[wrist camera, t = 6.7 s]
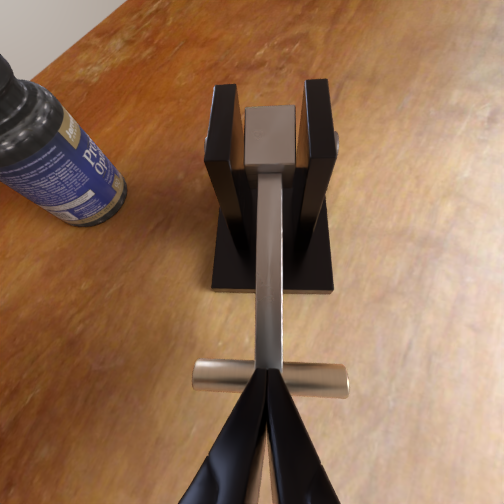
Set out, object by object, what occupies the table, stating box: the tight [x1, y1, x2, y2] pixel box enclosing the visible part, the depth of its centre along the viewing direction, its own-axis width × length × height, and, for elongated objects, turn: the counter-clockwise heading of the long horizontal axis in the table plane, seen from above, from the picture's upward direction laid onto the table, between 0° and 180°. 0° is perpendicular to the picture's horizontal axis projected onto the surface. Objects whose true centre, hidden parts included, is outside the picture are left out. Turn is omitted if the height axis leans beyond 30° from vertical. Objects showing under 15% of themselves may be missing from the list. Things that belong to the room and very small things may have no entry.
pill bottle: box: [0, 54, 127, 227], centre depth 17 cm, size 6×6×11 cm
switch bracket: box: [204, 79, 339, 294], centre depth 15 cm, size 10×8×10 cm
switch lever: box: [192, 105, 350, 399], centre depth 11 cm, size 12×6×2 cm, turn 178°
